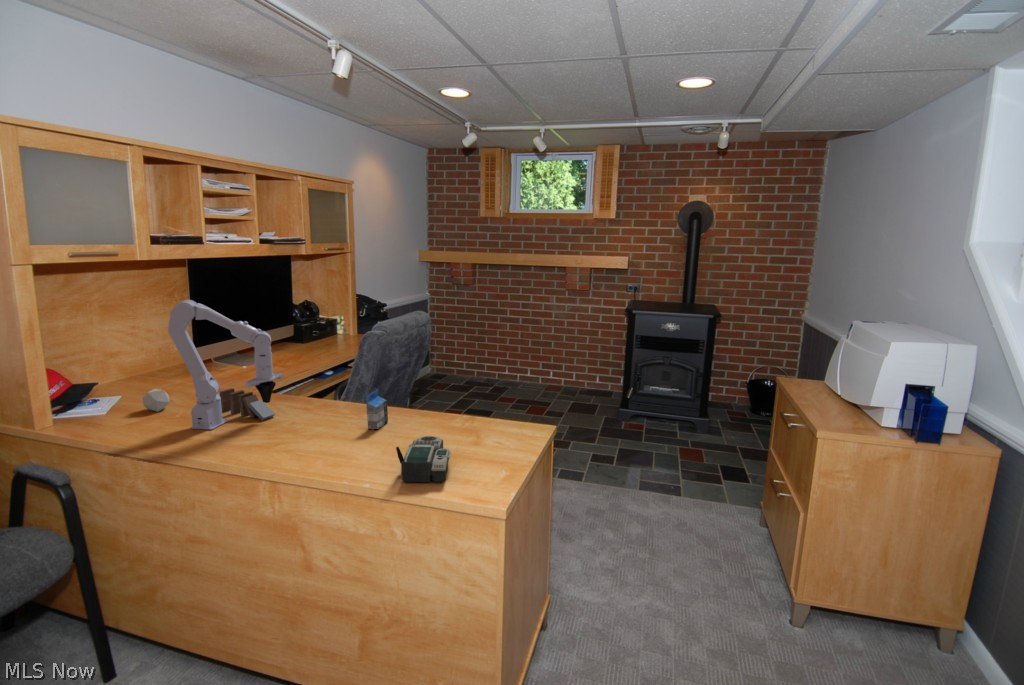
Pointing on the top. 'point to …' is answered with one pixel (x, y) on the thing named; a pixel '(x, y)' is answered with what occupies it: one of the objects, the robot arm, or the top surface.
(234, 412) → the domino
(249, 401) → the domino
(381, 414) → the label tape box
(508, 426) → the top surface
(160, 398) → the die
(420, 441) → the communication device
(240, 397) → the domino
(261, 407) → the domino
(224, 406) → the domino
